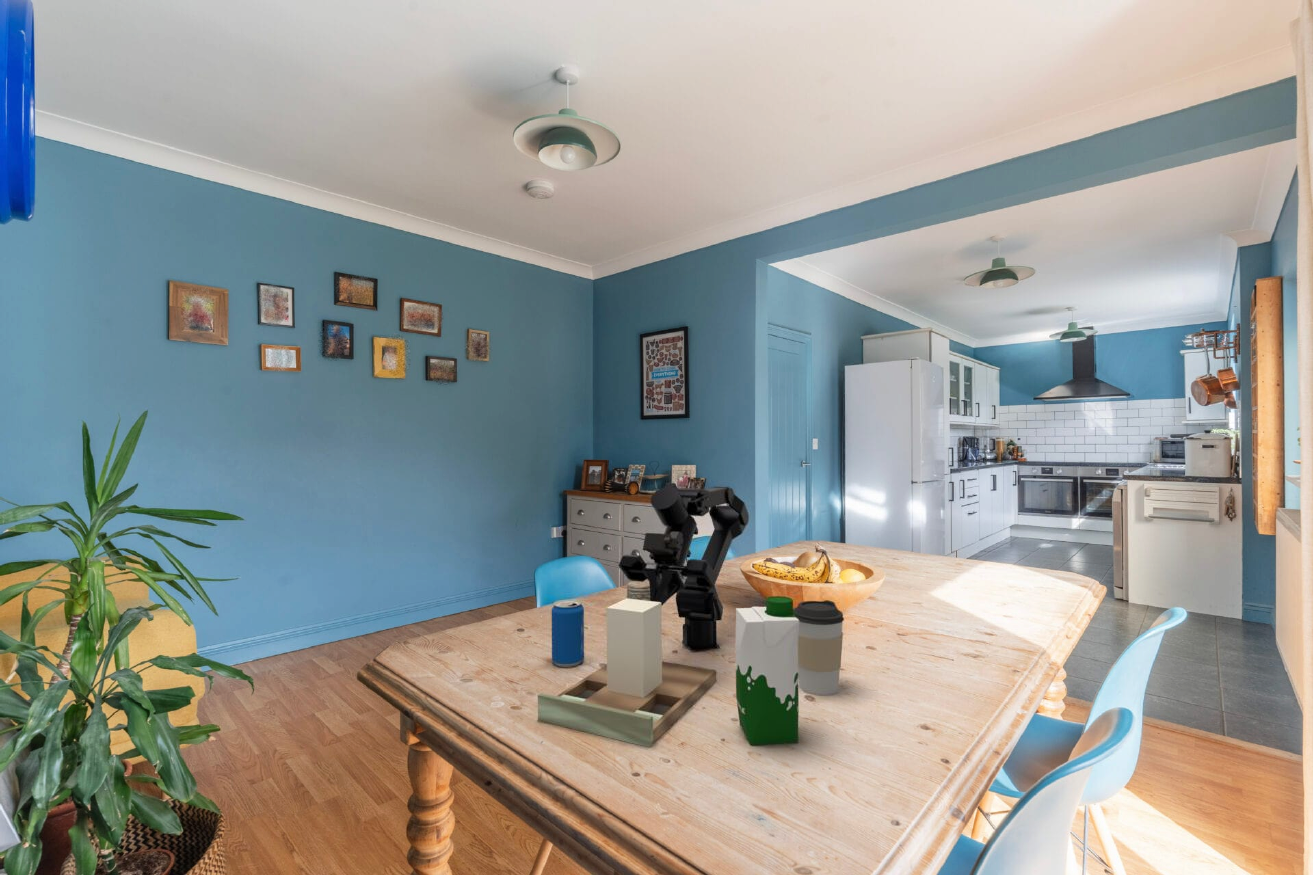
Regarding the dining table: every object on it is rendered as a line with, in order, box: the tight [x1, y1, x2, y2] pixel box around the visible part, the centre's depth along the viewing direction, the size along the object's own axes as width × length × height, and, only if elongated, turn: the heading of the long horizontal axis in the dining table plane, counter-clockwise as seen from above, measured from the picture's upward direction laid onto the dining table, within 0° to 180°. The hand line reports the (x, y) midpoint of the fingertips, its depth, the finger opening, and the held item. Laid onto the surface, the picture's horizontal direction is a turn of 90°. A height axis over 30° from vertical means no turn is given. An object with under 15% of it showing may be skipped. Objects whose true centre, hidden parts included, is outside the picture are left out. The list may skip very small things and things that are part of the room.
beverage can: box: [551, 598, 585, 668], centre depth 121 cm, size 6×6×12 cm
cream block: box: [606, 598, 663, 698], centre depth 103 cm, size 7×7×14 cm
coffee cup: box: [793, 599, 845, 696], centre depth 107 cm, size 9×9×15 cm
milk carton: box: [734, 595, 800, 746], centre depth 90 cm, size 9×9×20 cm
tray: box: [537, 660, 717, 748], centre depth 103 cm, size 27×20×4 cm
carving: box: [625, 579, 650, 601], centre depth 139 cm, size 6×8×12 cm
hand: (653, 610), depth 110 cm, fingers closed
